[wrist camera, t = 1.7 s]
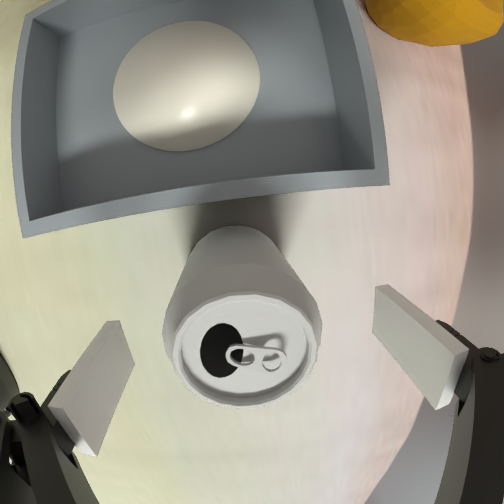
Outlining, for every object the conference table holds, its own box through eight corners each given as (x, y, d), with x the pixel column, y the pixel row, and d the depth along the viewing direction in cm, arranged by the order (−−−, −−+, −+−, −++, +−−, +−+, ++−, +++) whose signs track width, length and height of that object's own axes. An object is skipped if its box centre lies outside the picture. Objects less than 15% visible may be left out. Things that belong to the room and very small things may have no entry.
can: (191, 218, 21) (153, 267, 10) (289, 228, 22) (353, 285, 11) (185, 308, 23) (159, 413, 12) (274, 315, 24) (310, 420, 12)
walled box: (63, 223, 20) (22, 238, 14) (57, 38, 15) (25, 15, 10) (350, 181, 22) (389, 185, 16) (317, -5, 17) (339, -41, 11)
